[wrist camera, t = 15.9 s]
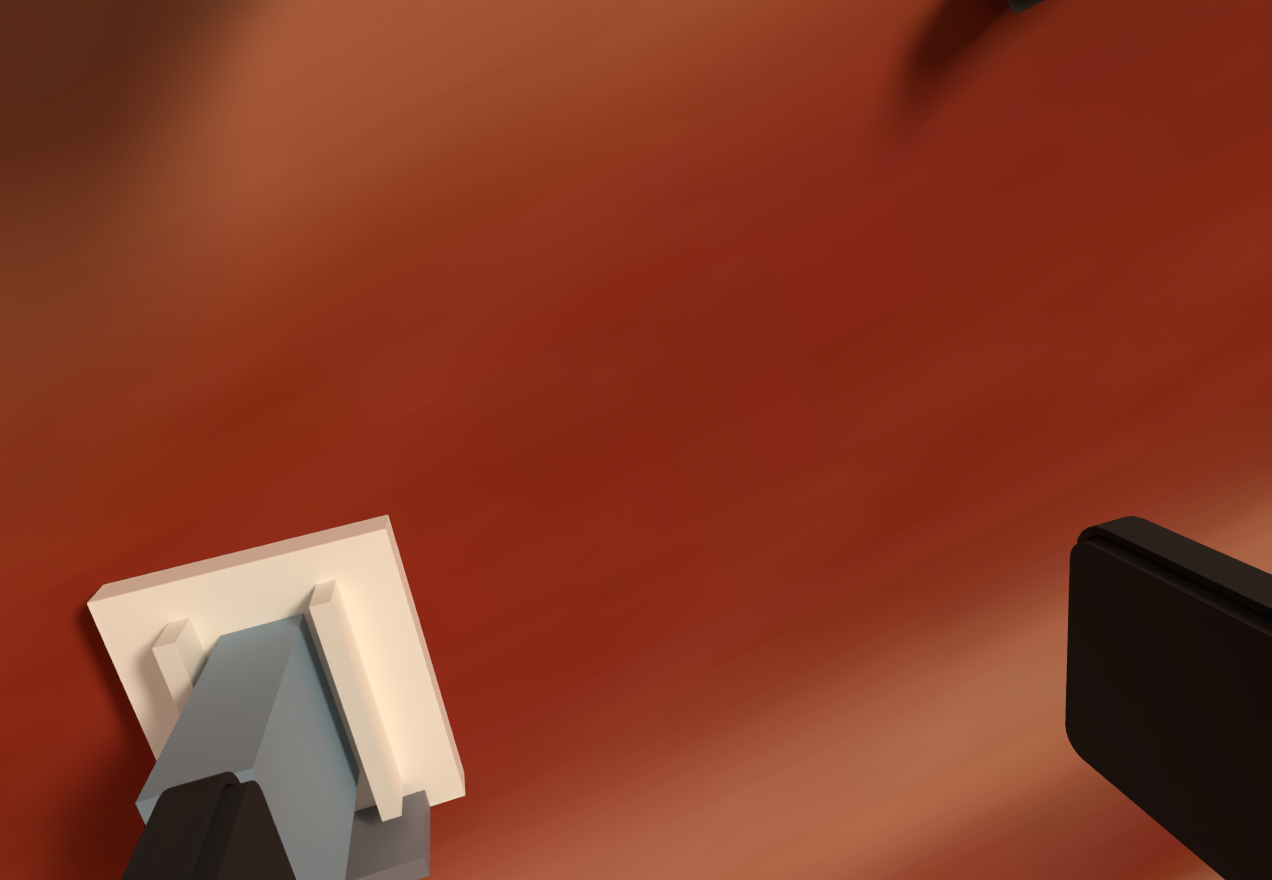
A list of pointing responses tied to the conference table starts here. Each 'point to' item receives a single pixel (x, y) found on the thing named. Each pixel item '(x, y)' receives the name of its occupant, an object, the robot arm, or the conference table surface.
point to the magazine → (1021, 4)
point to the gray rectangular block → (270, 741)
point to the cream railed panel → (349, 653)
